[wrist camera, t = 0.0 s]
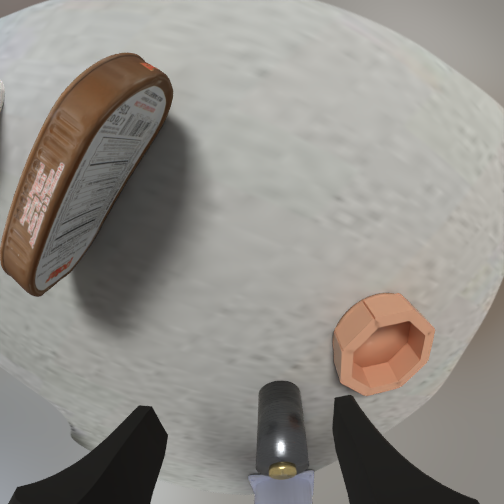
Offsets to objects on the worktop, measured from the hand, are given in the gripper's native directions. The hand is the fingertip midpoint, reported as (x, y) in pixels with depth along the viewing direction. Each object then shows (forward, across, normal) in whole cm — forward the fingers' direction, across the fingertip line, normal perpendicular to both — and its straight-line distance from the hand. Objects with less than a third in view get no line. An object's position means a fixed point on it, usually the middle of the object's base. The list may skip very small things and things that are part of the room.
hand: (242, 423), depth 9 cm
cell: (+10, -1, +9) cm, 13 cm away
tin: (+10, +8, -10) cm, 16 cm away
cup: (+10, -9, +4) cm, 14 cm away
